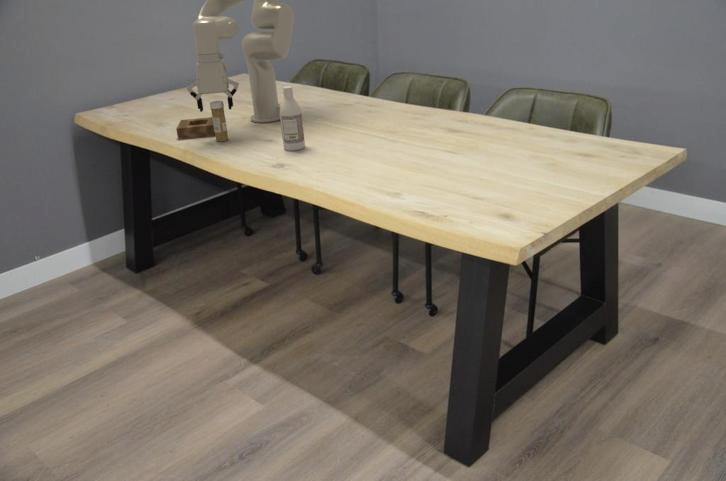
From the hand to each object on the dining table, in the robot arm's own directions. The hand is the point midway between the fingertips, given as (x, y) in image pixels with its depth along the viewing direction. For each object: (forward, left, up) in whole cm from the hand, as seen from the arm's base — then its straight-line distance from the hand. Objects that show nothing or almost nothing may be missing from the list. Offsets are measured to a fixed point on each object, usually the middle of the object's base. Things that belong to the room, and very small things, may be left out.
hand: (216, 109), depth 245 cm
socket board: (+9, -13, -11) cm, 19 cm away
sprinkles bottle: (0, -1, -11) cm, 11 cm away
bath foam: (-25, +17, -11) cm, 33 cm away
